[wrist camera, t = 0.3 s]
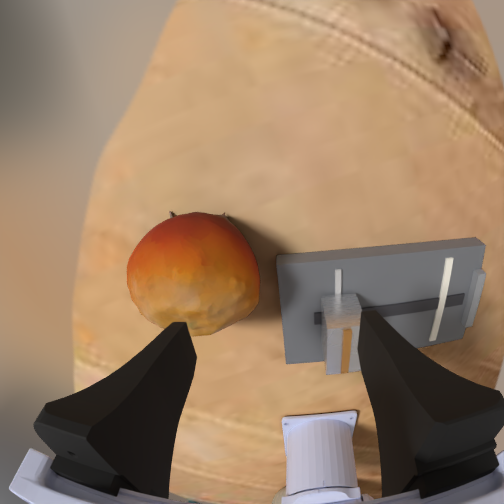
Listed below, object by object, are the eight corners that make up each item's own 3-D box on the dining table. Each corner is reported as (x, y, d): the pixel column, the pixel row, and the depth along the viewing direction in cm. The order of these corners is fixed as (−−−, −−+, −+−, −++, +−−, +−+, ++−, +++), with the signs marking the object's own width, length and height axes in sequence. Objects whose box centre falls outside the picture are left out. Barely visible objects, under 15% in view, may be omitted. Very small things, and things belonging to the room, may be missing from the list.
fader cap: (352, 337, 22) (361, 372, 18) (321, 340, 22) (326, 377, 18) (355, 293, 20) (367, 326, 17) (321, 296, 20) (327, 331, 17)
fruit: (245, 166, 17) (245, 290, 13) (265, 244, 24) (268, 345, 19) (124, 188, 19) (90, 300, 14) (168, 255, 25) (155, 348, 20)
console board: (455, 328, 23) (465, 344, 21) (286, 351, 25) (286, 371, 23) (475, 237, 19) (490, 249, 17) (276, 255, 21) (276, 270, 19)
